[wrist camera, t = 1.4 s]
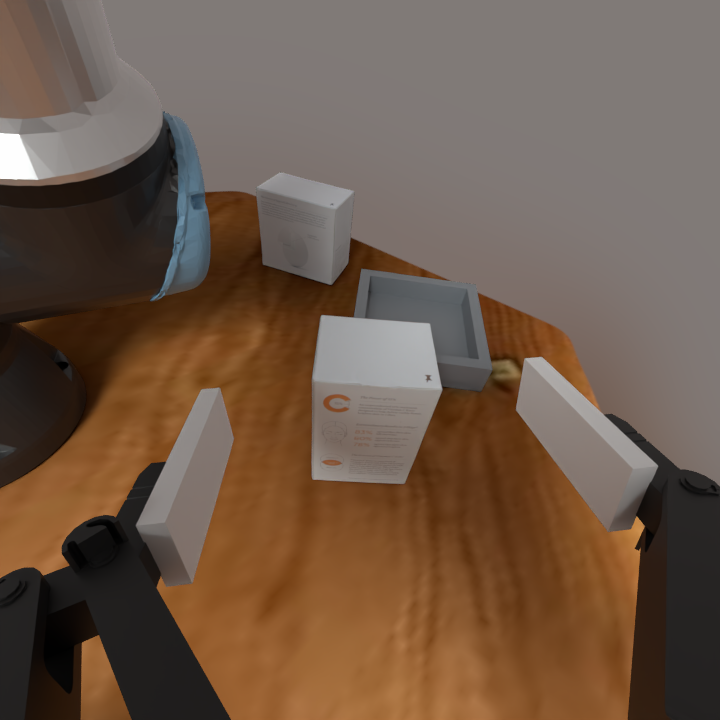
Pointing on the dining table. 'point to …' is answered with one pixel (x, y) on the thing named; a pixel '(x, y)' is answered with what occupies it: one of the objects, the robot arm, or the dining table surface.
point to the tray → (433, 320)
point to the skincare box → (305, 226)
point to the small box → (371, 398)
